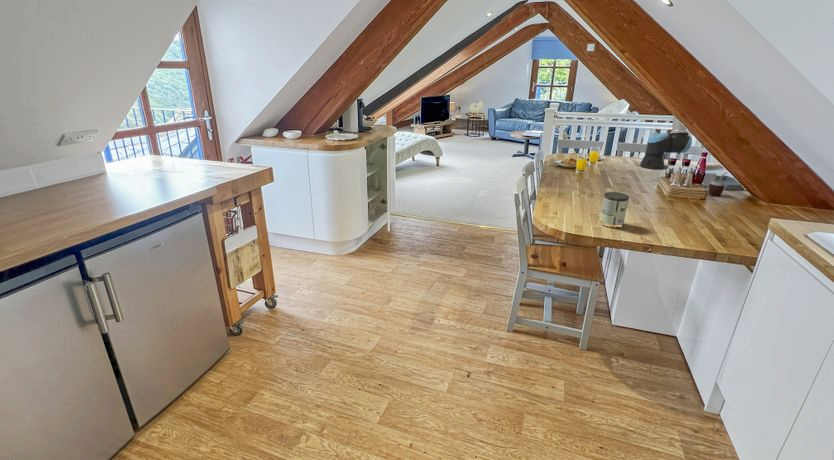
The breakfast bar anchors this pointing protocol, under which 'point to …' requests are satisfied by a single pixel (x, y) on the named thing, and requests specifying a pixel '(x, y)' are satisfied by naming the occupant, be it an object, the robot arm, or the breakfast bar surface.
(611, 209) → the coffee can
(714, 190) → the mate gourd
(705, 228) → the breakfast bar surface
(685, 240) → the breakfast bar surface
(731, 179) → the sorting tray
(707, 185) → the medicine box
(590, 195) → the breakfast bar surface
